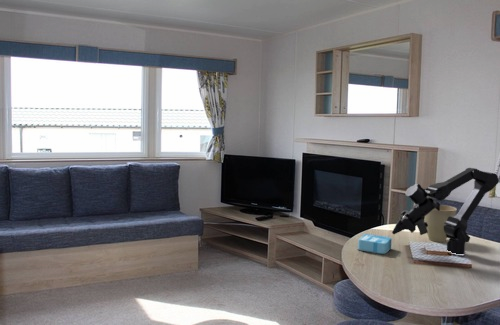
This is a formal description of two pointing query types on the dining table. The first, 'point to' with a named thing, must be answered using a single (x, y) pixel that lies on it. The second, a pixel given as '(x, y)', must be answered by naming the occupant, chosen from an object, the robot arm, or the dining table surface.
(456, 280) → the dining table surface
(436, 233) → the plant pot
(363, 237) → the data package
